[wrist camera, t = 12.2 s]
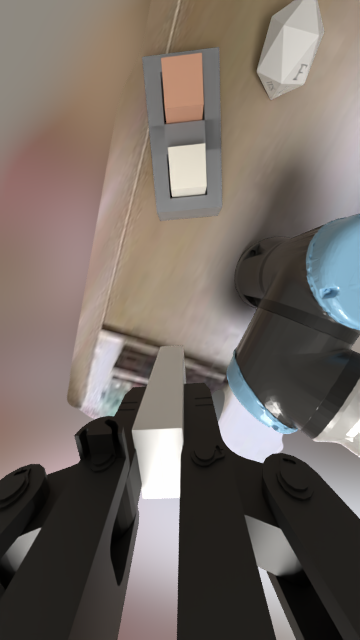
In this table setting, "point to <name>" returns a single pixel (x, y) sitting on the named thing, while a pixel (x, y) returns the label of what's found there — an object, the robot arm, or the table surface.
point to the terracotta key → (183, 88)
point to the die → (290, 47)
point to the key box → (185, 138)
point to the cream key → (187, 170)
